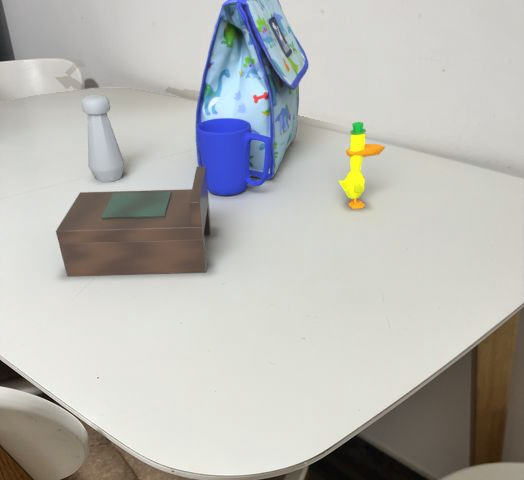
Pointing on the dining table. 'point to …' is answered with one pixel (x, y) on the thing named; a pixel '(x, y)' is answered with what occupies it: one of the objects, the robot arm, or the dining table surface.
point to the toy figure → (357, 164)
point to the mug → (229, 154)
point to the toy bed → (137, 231)
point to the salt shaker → (102, 140)
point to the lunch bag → (254, 77)
